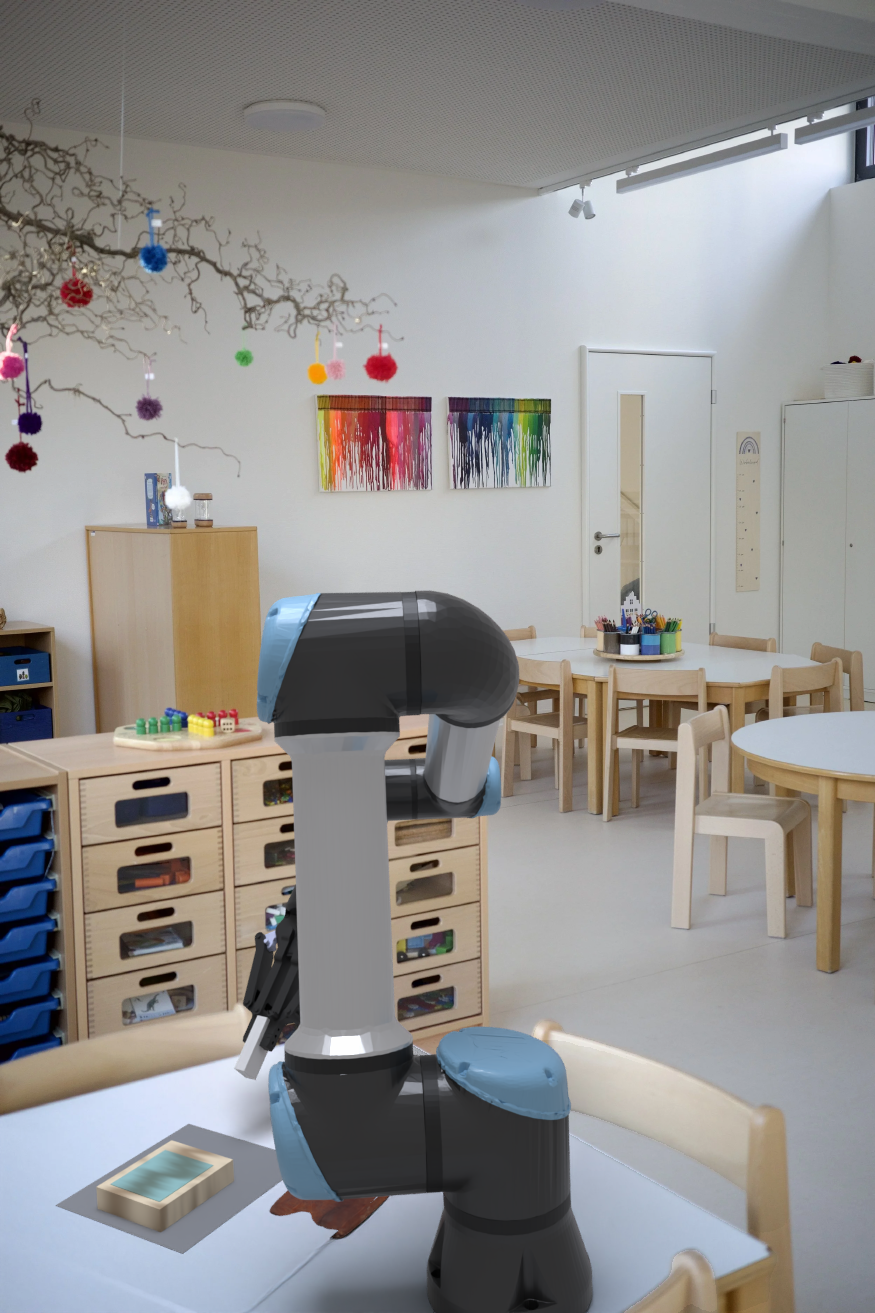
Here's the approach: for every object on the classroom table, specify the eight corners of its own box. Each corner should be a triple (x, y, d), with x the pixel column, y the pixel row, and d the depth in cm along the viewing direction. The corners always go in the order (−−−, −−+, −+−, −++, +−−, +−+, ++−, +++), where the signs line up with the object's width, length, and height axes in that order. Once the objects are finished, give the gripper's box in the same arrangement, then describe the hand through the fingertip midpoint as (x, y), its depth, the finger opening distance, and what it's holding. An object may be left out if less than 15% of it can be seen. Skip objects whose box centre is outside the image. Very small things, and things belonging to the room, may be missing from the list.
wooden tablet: (345, 1249, 118) (344, 1233, 118) (261, 1225, 123) (261, 1209, 122) (462, 1127, 142) (461, 1114, 141) (388, 1111, 146) (388, 1098, 146)
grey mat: (309, 1165, 133) (309, 1160, 133) (183, 1259, 116) (182, 1253, 116) (188, 1128, 142) (188, 1123, 142) (55, 1211, 125) (55, 1205, 125)
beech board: (233, 1159, 129) (159, 1209, 119) (234, 1181, 129) (161, 1232, 120) (171, 1139, 133) (96, 1186, 124) (172, 1161, 134) (97, 1209, 124)
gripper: (380, 914, 149) (305, 1099, 137) (296, 901, 156) (217, 1076, 143) (354, 884, 144) (273, 1073, 131) (268, 872, 151) (184, 1050, 138)
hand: (244, 1074), depth 137 cm, fingers closed
